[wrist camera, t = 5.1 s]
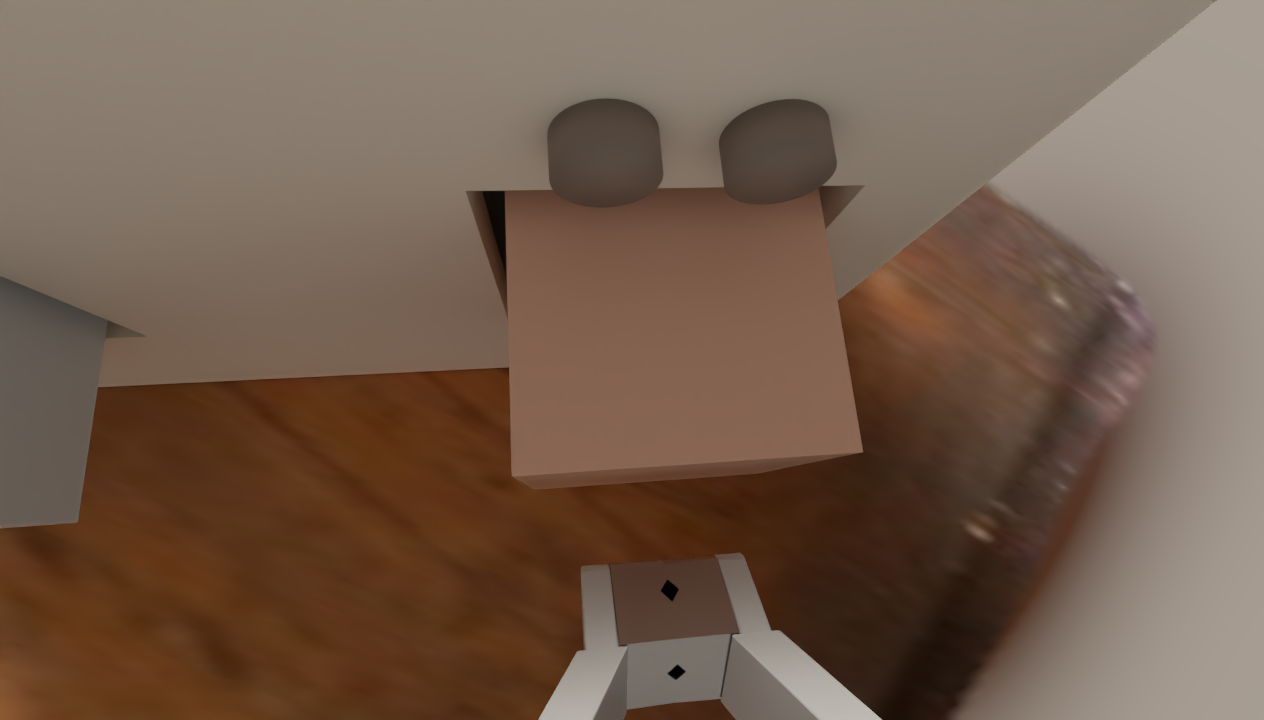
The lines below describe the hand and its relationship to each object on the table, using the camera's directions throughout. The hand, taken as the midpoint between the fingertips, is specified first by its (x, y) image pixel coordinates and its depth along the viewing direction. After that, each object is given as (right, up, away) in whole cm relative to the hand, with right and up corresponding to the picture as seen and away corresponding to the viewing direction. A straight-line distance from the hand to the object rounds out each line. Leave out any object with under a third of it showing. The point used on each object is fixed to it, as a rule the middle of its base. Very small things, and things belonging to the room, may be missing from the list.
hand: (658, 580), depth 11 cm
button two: (0, +5, +3) cm, 6 cm away
